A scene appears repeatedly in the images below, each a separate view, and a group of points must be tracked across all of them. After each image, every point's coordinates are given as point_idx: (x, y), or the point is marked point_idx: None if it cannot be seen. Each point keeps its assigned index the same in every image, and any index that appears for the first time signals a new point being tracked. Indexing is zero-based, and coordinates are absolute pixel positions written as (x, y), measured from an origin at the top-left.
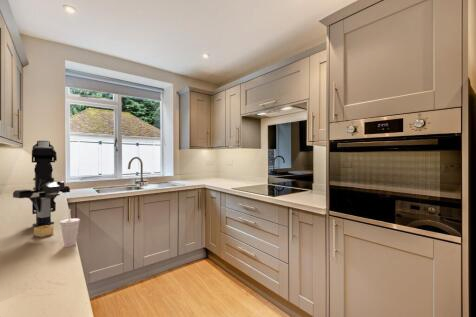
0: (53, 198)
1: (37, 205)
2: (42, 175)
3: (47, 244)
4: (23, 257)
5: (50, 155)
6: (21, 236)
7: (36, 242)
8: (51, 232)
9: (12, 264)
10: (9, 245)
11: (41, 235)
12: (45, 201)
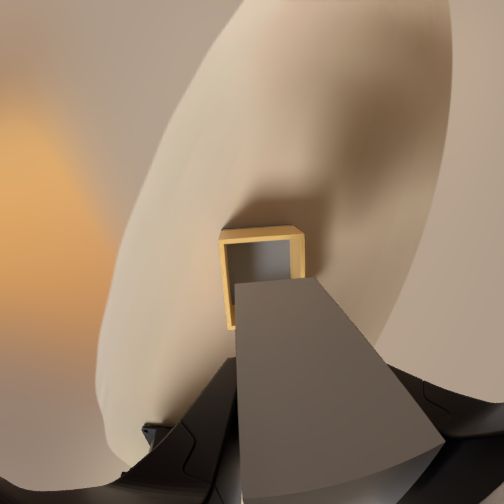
0: (146, 483)
1: (418, 378)
2: None
3: (325, 71)
4: (417, 36)
5: None
6: None
7: (340, 156)
8: (232, 230)
9: (439, 25)
10: (409, 235)
11: (291, 226)
12: (352, 421)
